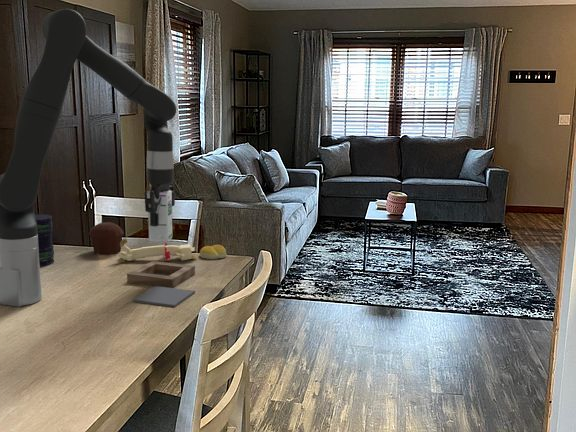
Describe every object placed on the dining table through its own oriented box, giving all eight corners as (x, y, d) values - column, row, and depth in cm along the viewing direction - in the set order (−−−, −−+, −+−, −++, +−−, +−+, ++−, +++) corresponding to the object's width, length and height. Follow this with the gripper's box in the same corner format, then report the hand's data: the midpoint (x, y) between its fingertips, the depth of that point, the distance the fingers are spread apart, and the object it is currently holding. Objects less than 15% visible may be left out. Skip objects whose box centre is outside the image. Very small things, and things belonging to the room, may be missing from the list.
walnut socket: (172, 287, 163) (172, 279, 162) (127, 282, 167) (127, 273, 166) (195, 273, 176) (195, 265, 176) (152, 268, 180) (152, 261, 180)
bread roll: (196, 255, 198) (196, 243, 198) (221, 252, 202) (221, 241, 201) (203, 261, 191) (203, 249, 190) (229, 258, 195) (229, 247, 194)
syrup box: (168, 242, 166) (168, 192, 163) (148, 241, 166) (147, 191, 163) (172, 237, 172) (172, 189, 169) (153, 237, 172) (152, 188, 169)
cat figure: (119, 269, 184) (198, 261, 188) (116, 243, 182) (196, 235, 186) (122, 260, 193) (198, 253, 197) (119, 235, 192) (195, 228, 196)
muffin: (131, 249, 203) (130, 221, 201) (113, 257, 192) (112, 227, 190) (101, 246, 206) (100, 218, 204) (82, 253, 195) (81, 225, 193)
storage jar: (20, 260, 186) (17, 214, 183) (53, 257, 190) (51, 213, 187) (21, 268, 177) (17, 221, 174) (55, 265, 181) (52, 218, 178)
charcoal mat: (174, 307, 148) (174, 305, 147) (133, 301, 151) (133, 299, 151) (195, 292, 159) (195, 290, 159) (156, 287, 162) (155, 285, 162)
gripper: (159, 170, 157) (160, 229, 160) (183, 165, 171) (183, 220, 174) (135, 168, 159) (136, 227, 162) (160, 163, 173) (161, 218, 176)
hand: (160, 223), depth 168 cm, fingers closed on syrup box, 6 cm apart
